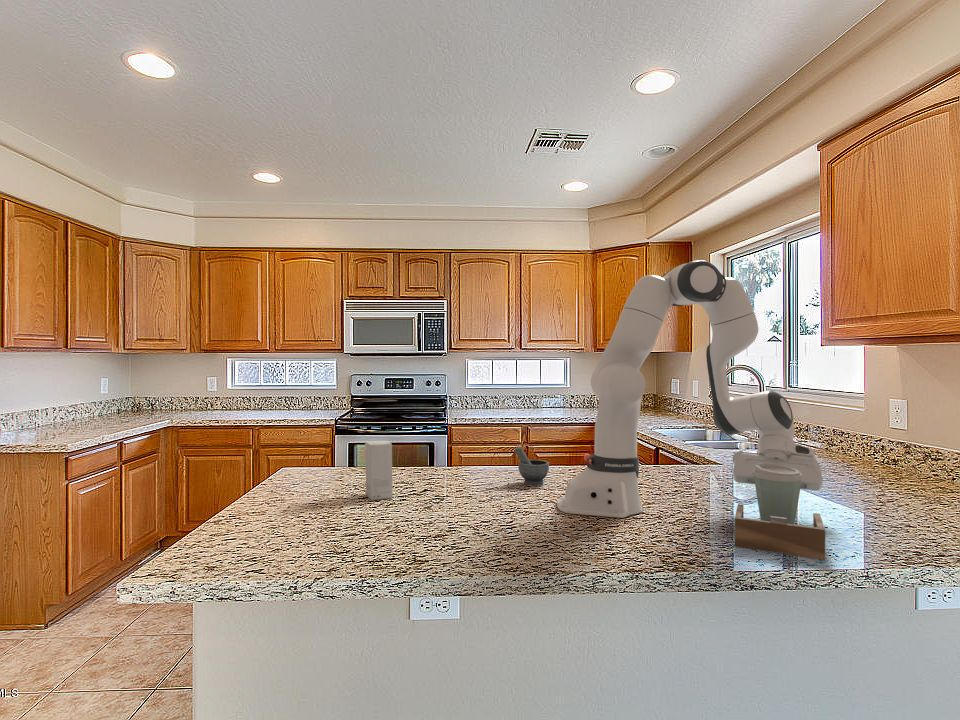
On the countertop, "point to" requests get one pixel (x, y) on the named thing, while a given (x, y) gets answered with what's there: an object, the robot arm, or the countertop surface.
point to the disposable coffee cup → (777, 490)
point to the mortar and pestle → (531, 469)
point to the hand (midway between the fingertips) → (776, 498)
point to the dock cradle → (780, 535)
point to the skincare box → (378, 470)
